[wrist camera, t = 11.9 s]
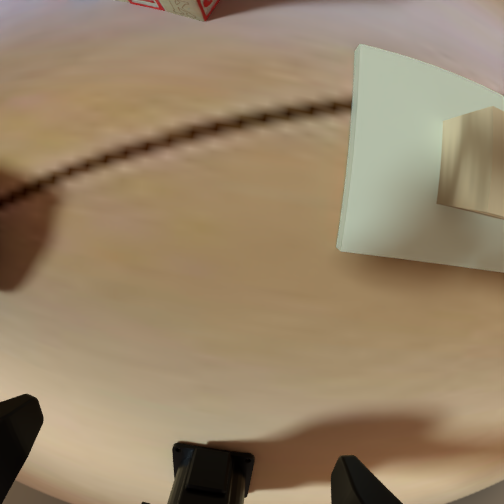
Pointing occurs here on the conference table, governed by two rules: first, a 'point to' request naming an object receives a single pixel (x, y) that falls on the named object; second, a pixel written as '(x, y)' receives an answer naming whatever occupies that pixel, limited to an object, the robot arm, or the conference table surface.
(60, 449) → the conference table surface
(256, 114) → the conference table surface
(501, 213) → the beige cube
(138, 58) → the conference table surface
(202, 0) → the stack of blocks
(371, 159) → the sage board
